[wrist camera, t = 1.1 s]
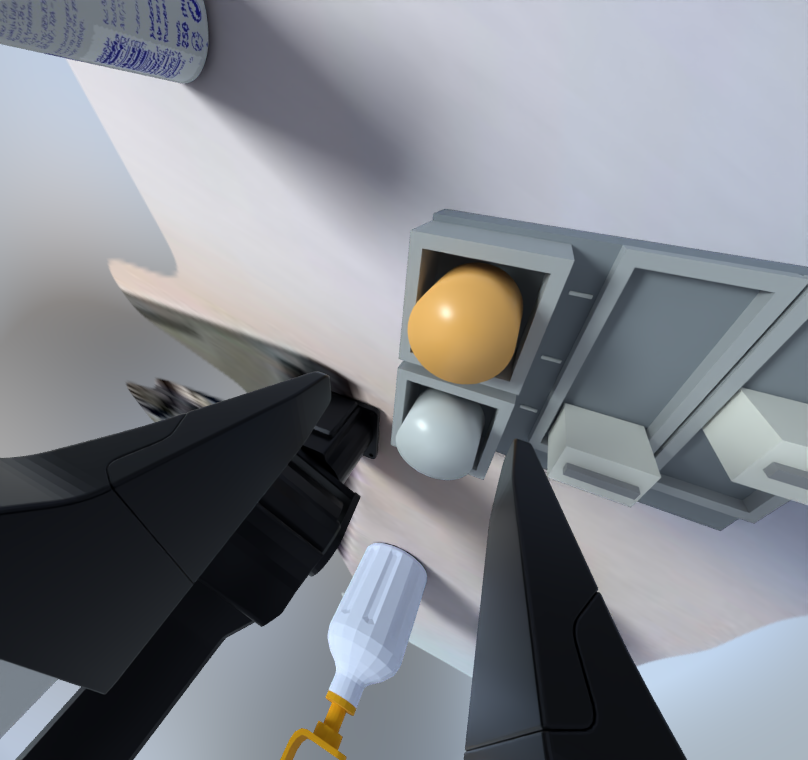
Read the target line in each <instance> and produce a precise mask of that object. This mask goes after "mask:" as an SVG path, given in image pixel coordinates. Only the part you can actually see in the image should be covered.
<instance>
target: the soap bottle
mask: <svg viewBox="0 0 808 760" xmlns="http://www.w3.org/2000/svg"><path fill="white" fill-rule="evenodd" d="M426 582H427V574H426V571H425V569H424V568H423V566H422V565H421V564H420V563H419V562H418V561H417V560H416V559H415V558H414V557H413V556H411V555H410V554H408V553H407V552H405V551H404V550H402V549H399V548H397V547H395V546H392V545H388V544H385V543H374V544H371V545H369V546H368V547H367V549H366V552H365V554H364V556H363V558H362V560H361V562H360V564H359V566H358V568H357V570H356V572H355V574H354V576H353V578H352V580H351V582H350V584H349V586H348V588H347V590H346V592H345V594H344V596H343V598H342V601H341V602H340V604H339V606H338V609H337V611H336V613H335V615H334V617H333V619H332V621H331V623H330V626H329V632H328V642H329V646H330V651H331V653H332V656H333V658H334V660H335V664H336V674H335V677H334V679H333V681H332V683H331V686H330V688H329V690H328V693H327V695H326V699H327V700H329V701H330V702H331V703H332V704H331V706H330V709H329V711H328V714H327V716H326V718H325V721H324V723H322V722H320V721H318V723H317V725H316V728H315V730H314V733H312V732H310V731H309V730H307V729H303V728H301V729H299V730H297V731H296V732H295V733H294V734H293V735H292V737H291V738H290V740H289V742H288V744H287V746H286V748H285V751H284V753H283V755H282V757H281V759H280V760H293V758H294V756H295V753H296V751H297V749H298V748H299V746H300V745H301V743H302V742H303V741H305V740H306V739H310V740H312V741H313V742H315V743H316V744H318V745H319V746H321V747H322V748H323V749H325V750H326V751H328V752H329V753H330V754H332V755H333V756H335V757H336V758H338V759H339V760H346V756H345V755H343V754H342V753H341V752H339V751H338V748H339V746H340V743H341V740H342V736H341V735H340V734H338V732H339V729H340V727H341V724H342V722H343V719H344V716H345V714H346V713H348V714H350V715H352V716H354V713H355V711H356V708H357V706H358V703H359V700H360V697H361V695H362V692H363V690H364V688H365V687H366V686H368V685H371V684H376V683H380V682H383V681H385V680H387V679H389V678H391V677H392V676H394V675H395V673H396V672H397V671H398V669H399V668H400V666H401V663H402V660H403V657H404V653H405V650H406V647H407V644H408V640H409V637H410V634H411V631H412V628H413V624H414V621H415V618H416V615H417V611H418V608H419V605H420V602H421V598H422V595H423V592H424V589H425V585H426Z"/></svg>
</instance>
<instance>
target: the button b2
mask: <svg viewBox="0 0 808 760" xmlns="http://www.w3.org/2000/svg"><path fill="white" fill-rule="evenodd" d="M522 315H523V299H522V295H521V292H520V290H519V288H518V286H517V284H516V283H515V281H514V280H513V279H512V278H511V277H510V275H508V274H507V273H506V272H505V271H503V270H502V269H500V268H498V267H496V266H494V265H491V264H487V263H480V262H472V263H466V264H462V265H459V266H457V267H455V268H453V269H451V270H450V271H448V272H447V273H446V274H445V275H444V276H443V277H442V278H441V279H440V280H439V281H438V282H437V283H435V284H434V285H433V286H432V287H431V288H430V289H429V290H428V291H427V292H426V293H425V294H424V295H423V296H422V297H421V298H420V299H419V301H418V302H417V303H416V304H415V306H414V307H413V309H412V311H411V314H410V317H409V321H408V339H409V344H410V346H411V349H412V351H413V353H414V355H415V357H416V358H417V360H418V361H419V362H420V363H421V365H422V366H423V367H424V368H425V369H427V370H428V371H429V372H430V373H432V374H433V375H435V376H436V377H438V378H440V379H442V380H445V381H448V382H452V383H456V384H477V383H481V382H484V381H487V380H489V379H491V378H493V377H495V376H496V375H498V374H499V373H500V372H501V371H503V370H504V369H505V367H506V366H507V365H508V363H509V362H510V360H511V358H512V356H513V354H514V351H515V347H516V343H517V338H518V334H519V329H520V325H521V320H522Z"/></svg>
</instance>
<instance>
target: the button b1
mask: <svg viewBox="0 0 808 760" xmlns="http://www.w3.org/2000/svg"><path fill="white" fill-rule="evenodd" d="M484 424H485V416H484V412H483V410H482V408H481V406H480V404H479V403H478V402H475V401H472V400H469V399H466V398H463V397H459V396H456V395H453V394H450V393H447V392H444V391H441V390H437V389H434V388H431V387H430V388H427V389H426V390H424V391H423V392H422V393H421V394H420V395H419V396H418V398H417V400H416V401H415V403H414V405H413V406H412V408H411V410H410V411H409V413H408V415H407V417H406V418H405V420H404V422H403V423H402V425H401V427H400V428H399V430H398V432H397V434H396V446H397V449H398V451H399V453H400V455H401V456H402V458H403V459H404V460H405V461H406V462H407V463H408V464H409V465H410V466H411V467H412V468H414V469H415V470H417V471H418V472H420V473H422V474H424V475H426V476H429V477H432V478H435V479H440V480H455V479H459V478H462V477H464V476H465V475H467V474H468V473H469V472H470V471H471V469H472V467H473V464H474V460H475V457H476V453H477V449H478V446H479V442H480V438H481V435H482V431H483V428H484Z"/></svg>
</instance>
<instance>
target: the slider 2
mask: <svg viewBox="0 0 808 760" xmlns="http://www.w3.org/2000/svg"><path fill="white" fill-rule="evenodd" d="M702 429H703V431H704V433H705V435H706V437H707V438H708V440H709V442H710V444H711V446H712V447H713V449H714V451H715V453H716V455H717V456H718V458H719V460H720V462H721V464H722V465H723V467H724V469H725V471H726V473H727V474H728V476H729V478H730V480H731V481H732V482H736V483H739V484H742V485H745V486H748V487H751V488H754V489H758V490H761V491H764V492H767V493H770V494H773V495H777V496H780V497H783V498H786V499H789V500H792V501H795V502H799V503H802V504H805V505H808V404H806V403H802V402H798V401H794V400H790V399H786V398H782V397H778V396H774V395H770V394H766V393H762V392H758V391H754V390H750V389H746V388H742V387H741V388H740V389H739V390H738V391H737V392H736V393H735V394H734V395H733V396H732V397H731V398H730V399H729V400H728V401H727V402H726V403H725V404H724V405H723V406H722V407H721V408H720V409H719V410H718V411H717V412H716V413H715V414H714V416H713V417H712V418H711V419H710V420H709V421H708V422H707V423H706V424H705V425H704V426H703V427H702Z"/></svg>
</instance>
